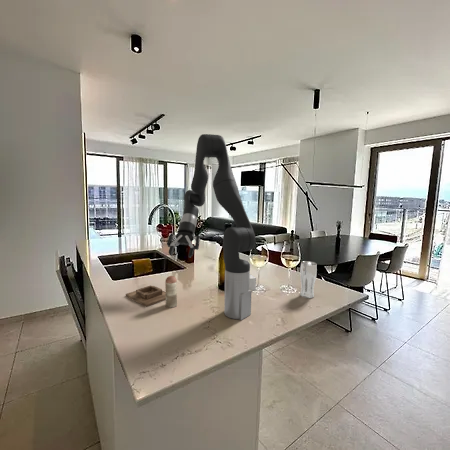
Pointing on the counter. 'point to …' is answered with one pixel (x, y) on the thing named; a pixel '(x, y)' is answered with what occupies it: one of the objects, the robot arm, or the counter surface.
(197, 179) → the robot arm
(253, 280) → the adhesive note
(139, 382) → the counter surface
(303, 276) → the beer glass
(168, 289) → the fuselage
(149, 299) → the cradle
